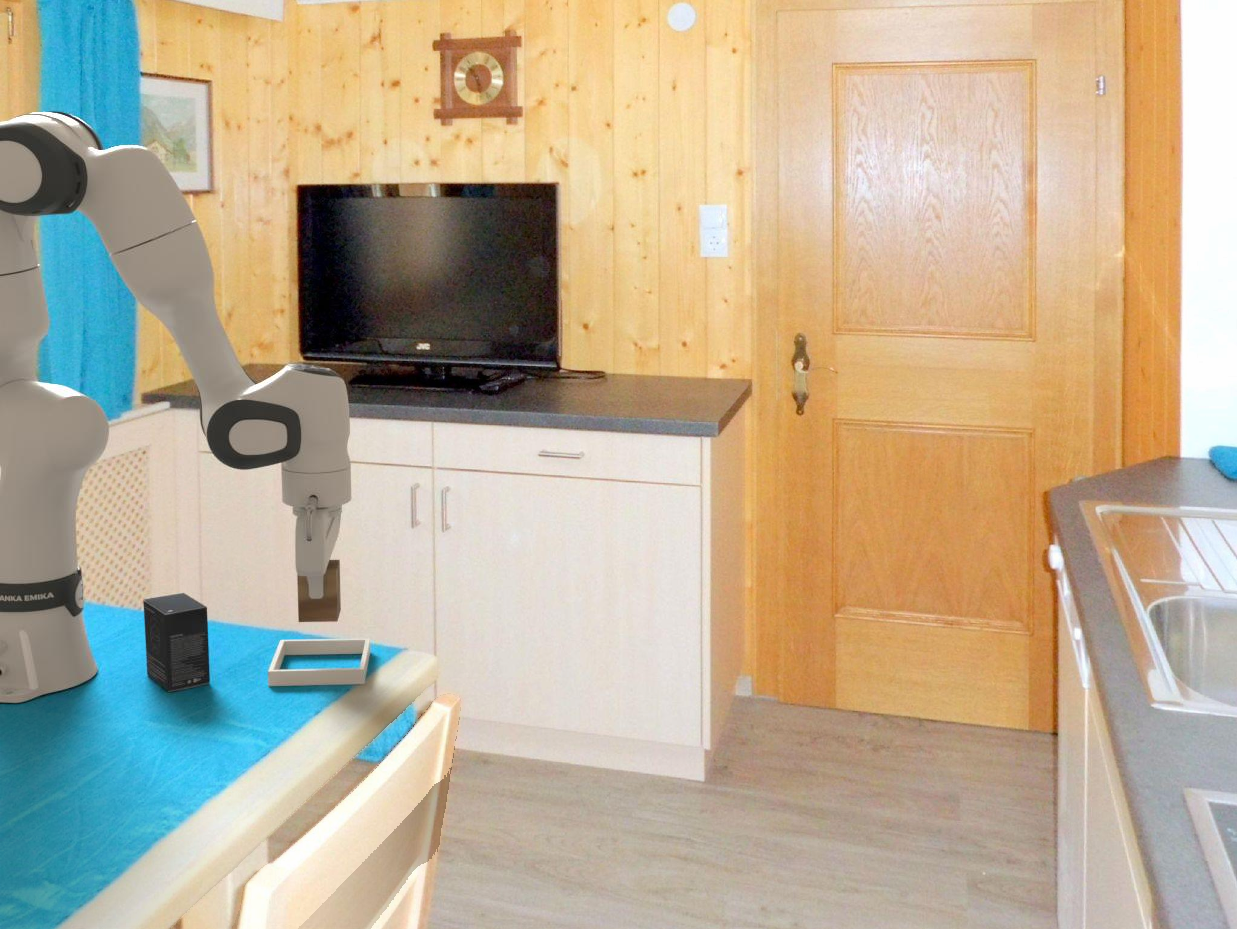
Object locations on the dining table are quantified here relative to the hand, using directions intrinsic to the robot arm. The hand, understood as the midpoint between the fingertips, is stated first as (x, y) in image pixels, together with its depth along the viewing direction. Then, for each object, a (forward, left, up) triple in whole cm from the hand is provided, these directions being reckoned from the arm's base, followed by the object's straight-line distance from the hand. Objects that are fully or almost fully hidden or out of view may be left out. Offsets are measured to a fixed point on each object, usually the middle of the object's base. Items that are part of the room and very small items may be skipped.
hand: (319, 589), depth 177 cm
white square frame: (0, 0, -11) cm, 11 cm away
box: (-18, -3, -11) cm, 21 cm away
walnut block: (0, 0, -4) cm, 4 cm away
